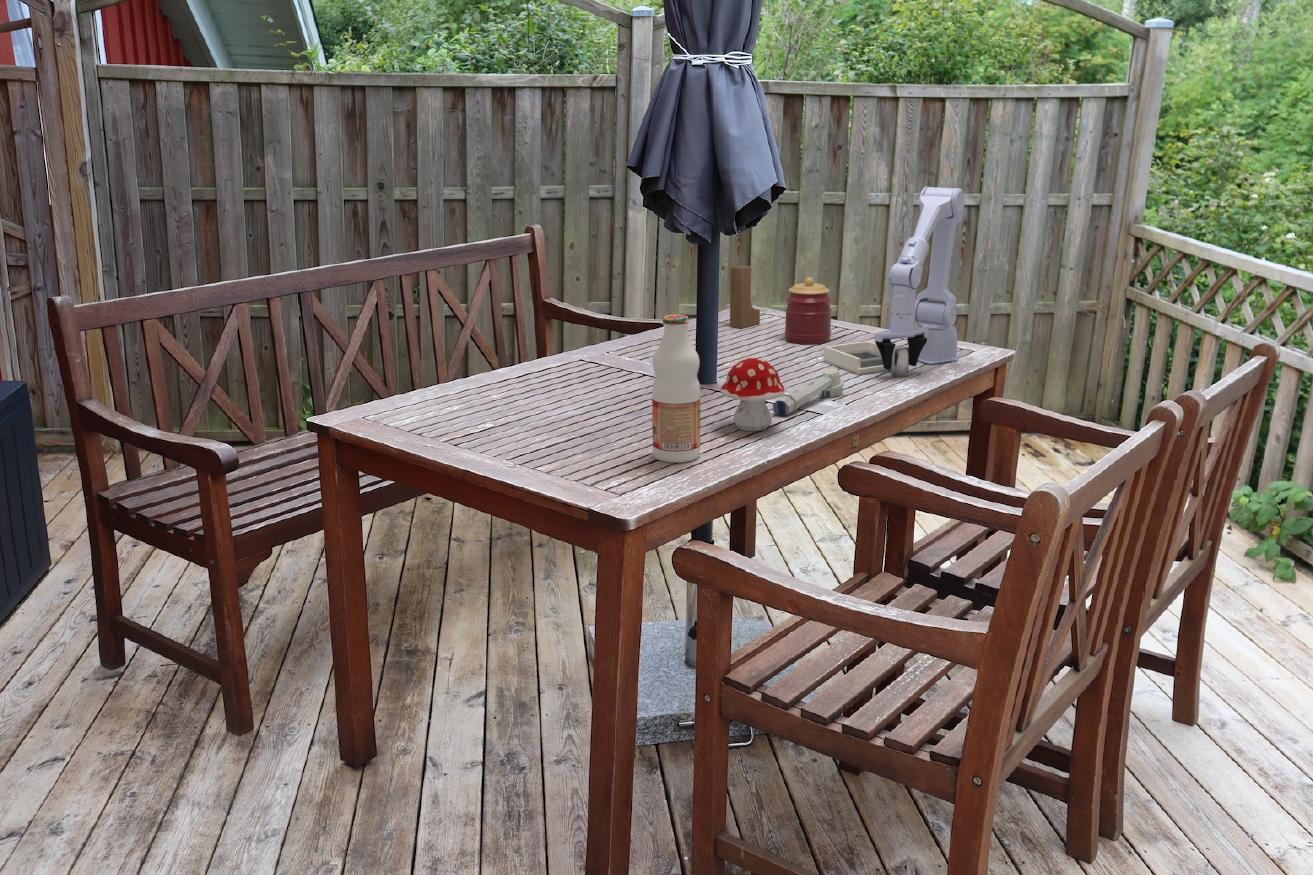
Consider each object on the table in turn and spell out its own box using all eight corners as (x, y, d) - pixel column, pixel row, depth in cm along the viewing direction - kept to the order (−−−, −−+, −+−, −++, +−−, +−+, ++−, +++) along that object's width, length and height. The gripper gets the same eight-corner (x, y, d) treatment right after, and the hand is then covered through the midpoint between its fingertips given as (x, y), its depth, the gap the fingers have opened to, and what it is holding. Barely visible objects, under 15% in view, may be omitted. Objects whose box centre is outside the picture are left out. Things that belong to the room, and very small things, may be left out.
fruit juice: (675, 467, 225) (674, 323, 217) (643, 456, 232) (640, 316, 224) (710, 456, 232) (710, 316, 223) (677, 445, 238) (676, 309, 230)
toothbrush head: (769, 398, 258) (827, 361, 275) (771, 425, 261) (829, 387, 278) (789, 401, 255) (847, 364, 272) (791, 430, 258) (848, 391, 275)
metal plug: (901, 373, 293) (902, 345, 290) (911, 376, 289) (912, 348, 287) (888, 374, 291) (889, 347, 289) (897, 378, 287) (899, 350, 285)
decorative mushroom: (764, 440, 241) (765, 369, 236) (707, 430, 248) (707, 361, 244) (796, 424, 251) (798, 356, 247) (741, 414, 259) (741, 348, 255)
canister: (786, 345, 324) (787, 281, 318) (782, 334, 336) (784, 273, 331) (833, 344, 323) (835, 281, 318) (828, 334, 336) (830, 273, 330)
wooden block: (748, 322, 353) (749, 262, 348) (760, 324, 350) (761, 264, 345) (729, 327, 347) (729, 266, 342) (741, 329, 344) (741, 267, 339)
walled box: (868, 355, 310) (868, 340, 309) (905, 368, 297) (906, 353, 295) (823, 361, 305) (823, 346, 303) (859, 375, 291) (859, 359, 290)
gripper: (916, 307, 292) (913, 360, 296) (868, 312, 286) (866, 367, 290) (934, 312, 286) (931, 366, 290) (885, 317, 280) (883, 373, 284)
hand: (899, 367), depth 289 cm, fingers open, 7 cm apart
